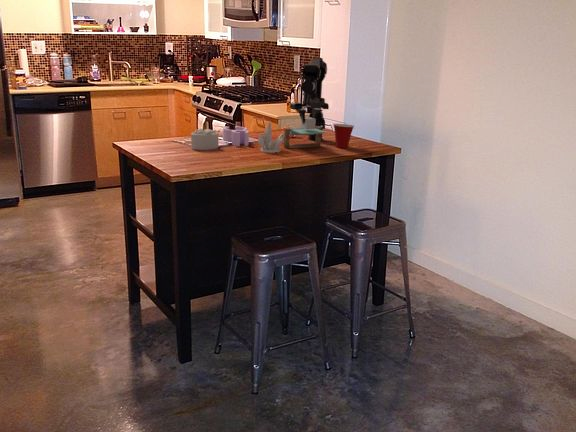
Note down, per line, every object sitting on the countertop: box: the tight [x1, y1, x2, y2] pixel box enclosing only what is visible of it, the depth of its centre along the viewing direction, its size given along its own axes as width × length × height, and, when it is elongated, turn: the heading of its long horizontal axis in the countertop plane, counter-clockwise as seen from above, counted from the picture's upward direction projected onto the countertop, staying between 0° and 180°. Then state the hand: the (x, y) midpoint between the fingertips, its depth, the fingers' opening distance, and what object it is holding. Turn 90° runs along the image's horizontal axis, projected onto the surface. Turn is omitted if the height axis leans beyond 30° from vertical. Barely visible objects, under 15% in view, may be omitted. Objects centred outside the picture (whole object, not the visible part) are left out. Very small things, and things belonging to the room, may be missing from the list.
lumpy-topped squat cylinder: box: [190, 128, 219, 151], centre depth 270 cm, size 10×13×9 cm
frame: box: [283, 126, 323, 149], centre depth 281 cm, size 2×20×10 cm, turn 116°
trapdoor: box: [286, 126, 327, 137], centre depth 278 cm, size 16×14×4 cm
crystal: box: [257, 120, 284, 154], centre depth 269 cm, size 10×13×15 cm
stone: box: [300, 116, 316, 129], centre depth 274 cm, size 5×5×5 cm
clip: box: [222, 125, 250, 147], centre depth 286 cm, size 20×12×7 cm, turn 23°
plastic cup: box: [333, 123, 355, 149], centre depth 284 cm, size 11×11×12 cm
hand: (308, 123), depth 274 cm, fingers closed on stone, 5 cm apart
